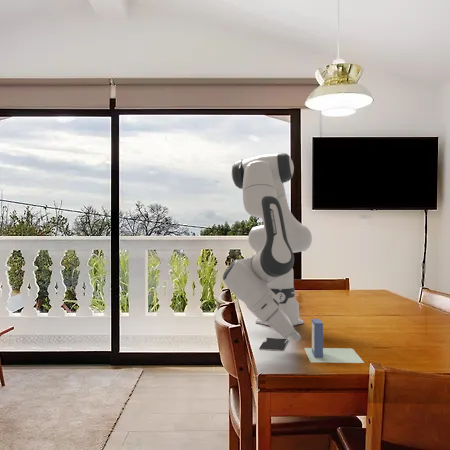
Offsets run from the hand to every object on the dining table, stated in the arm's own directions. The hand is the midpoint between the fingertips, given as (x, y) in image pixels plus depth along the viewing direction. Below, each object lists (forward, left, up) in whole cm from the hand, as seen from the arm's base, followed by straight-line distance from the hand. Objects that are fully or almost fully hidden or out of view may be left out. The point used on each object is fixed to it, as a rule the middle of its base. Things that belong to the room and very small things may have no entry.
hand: (299, 339), depth 146 cm
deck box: (0, +5, -5) cm, 7 cm away
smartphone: (-12, -7, -6) cm, 15 cm away
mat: (0, +10, -5) cm, 11 cm away
